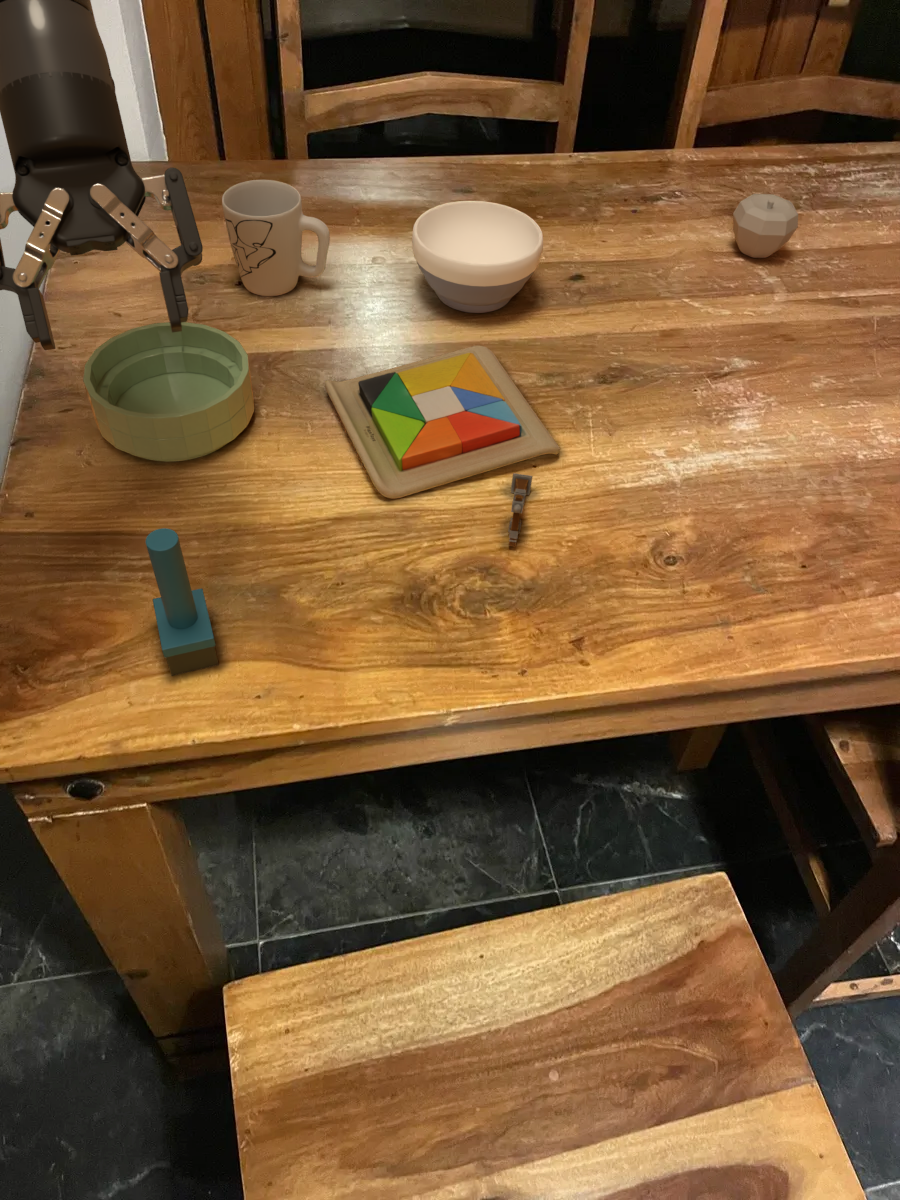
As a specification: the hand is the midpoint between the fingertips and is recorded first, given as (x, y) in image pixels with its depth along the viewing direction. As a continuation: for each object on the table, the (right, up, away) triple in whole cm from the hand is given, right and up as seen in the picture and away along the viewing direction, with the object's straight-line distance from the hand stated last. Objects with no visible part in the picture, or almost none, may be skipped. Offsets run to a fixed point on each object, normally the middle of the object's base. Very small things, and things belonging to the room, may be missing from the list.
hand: (114, 338), depth 64 cm
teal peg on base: (+3, -22, +9) cm, 24 cm away
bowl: (+26, +17, +44) cm, 54 cm away
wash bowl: (-3, 0, +27) cm, 27 cm away
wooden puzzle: (+22, -1, +28) cm, 36 cm away
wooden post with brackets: (+29, -11, +20) cm, 37 cm away
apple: (+62, +26, +54) cm, 86 cm away
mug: (+4, +18, +43) cm, 47 cm away
